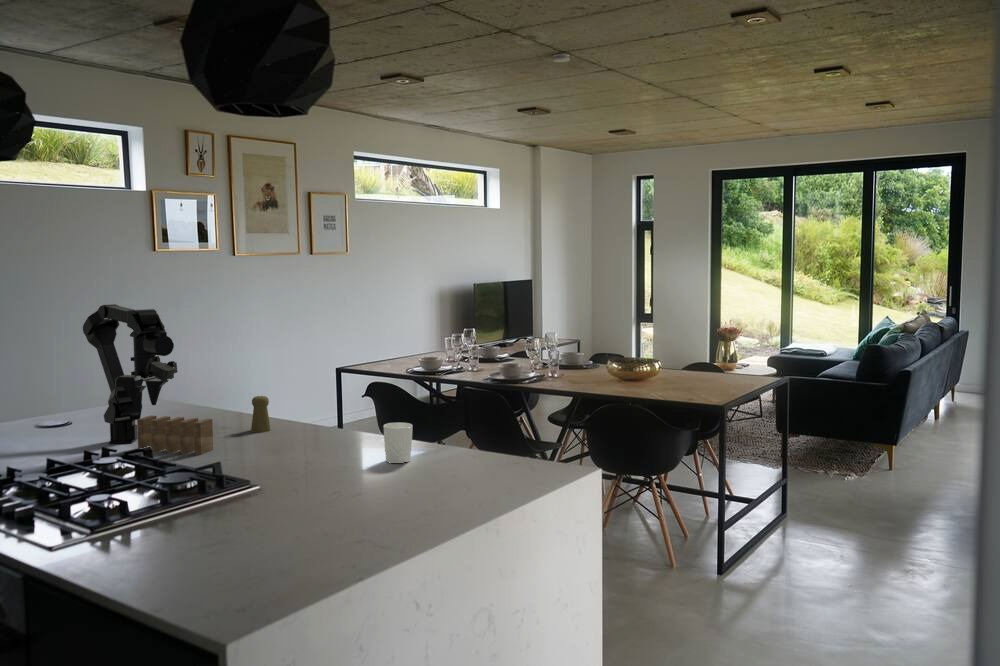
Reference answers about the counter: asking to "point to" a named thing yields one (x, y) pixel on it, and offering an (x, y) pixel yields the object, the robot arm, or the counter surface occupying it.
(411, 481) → the counter surface
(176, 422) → the walnut domino
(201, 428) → the walnut domino
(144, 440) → the walnut domino
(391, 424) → the white cup
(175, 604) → the counter surface
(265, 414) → the olive yellow rounded piece
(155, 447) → the walnut domino
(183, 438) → the walnut domino
